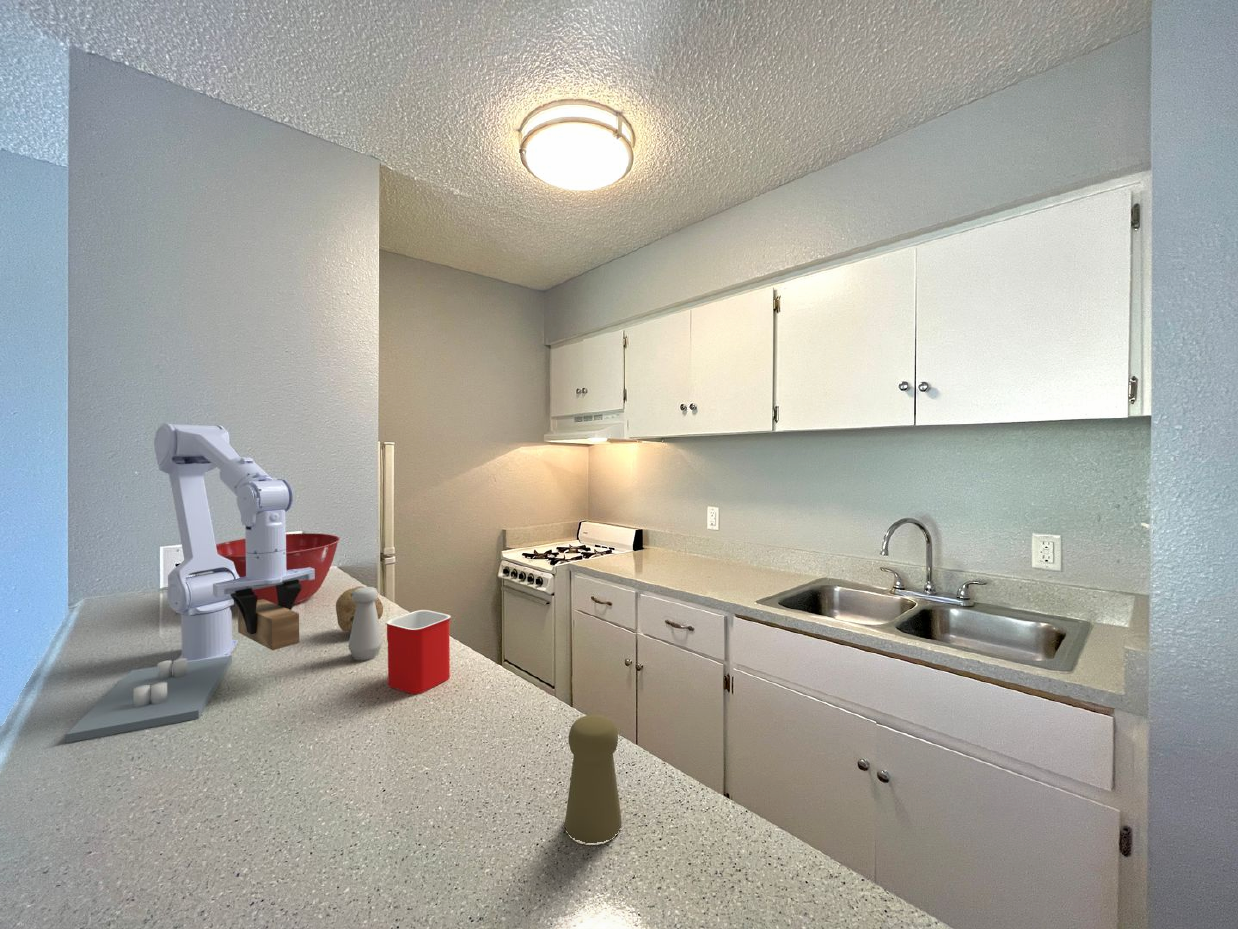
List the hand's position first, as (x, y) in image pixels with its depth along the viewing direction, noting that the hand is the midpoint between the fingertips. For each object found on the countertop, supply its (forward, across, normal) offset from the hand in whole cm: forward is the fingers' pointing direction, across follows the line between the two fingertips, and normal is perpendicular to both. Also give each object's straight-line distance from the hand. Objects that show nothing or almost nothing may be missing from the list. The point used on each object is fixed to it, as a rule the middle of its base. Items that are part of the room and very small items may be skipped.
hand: (267, 628), depth 88 cm
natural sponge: (+9, +20, +8) cm, 23 cm away
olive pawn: (+8, +7, -67) cm, 68 cm away
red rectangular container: (+8, +14, -20) cm, 27 cm away
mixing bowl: (+9, +18, +47) cm, 51 cm away
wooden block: (+2, 0, 0) cm, 2 cm away
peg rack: (+8, -13, +5) cm, 16 cm away
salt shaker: (+8, +14, -5) cm, 18 cm away
